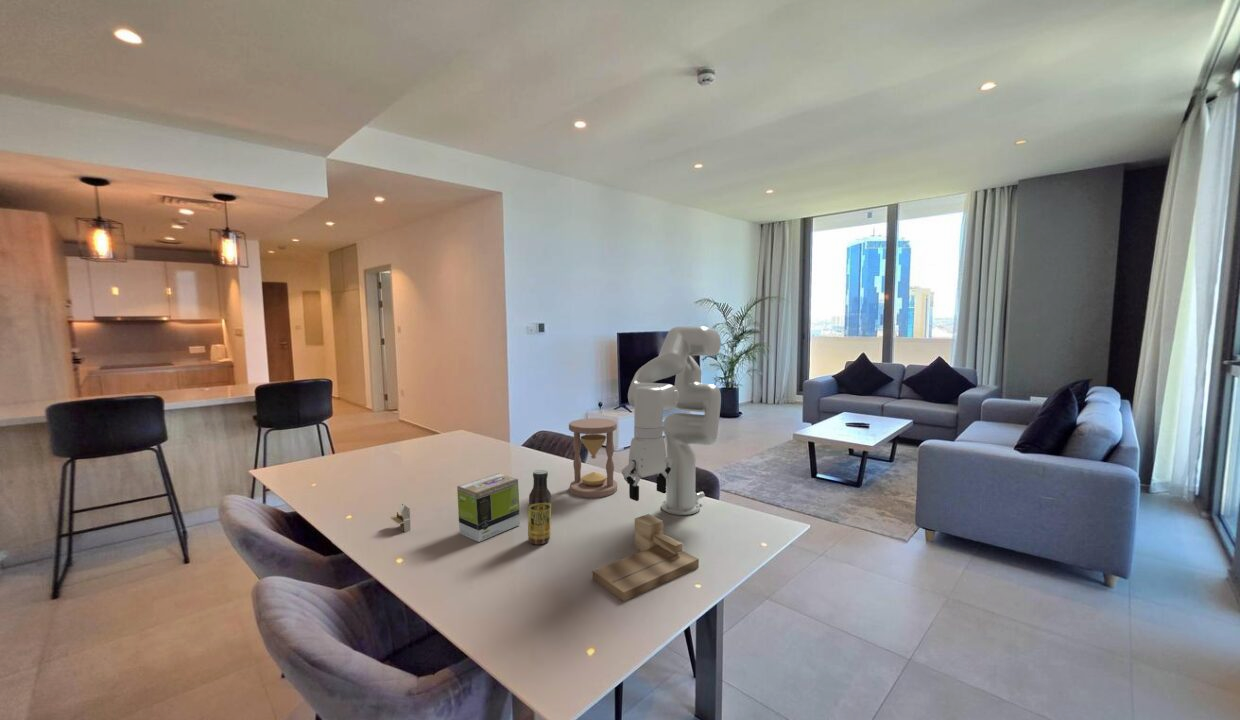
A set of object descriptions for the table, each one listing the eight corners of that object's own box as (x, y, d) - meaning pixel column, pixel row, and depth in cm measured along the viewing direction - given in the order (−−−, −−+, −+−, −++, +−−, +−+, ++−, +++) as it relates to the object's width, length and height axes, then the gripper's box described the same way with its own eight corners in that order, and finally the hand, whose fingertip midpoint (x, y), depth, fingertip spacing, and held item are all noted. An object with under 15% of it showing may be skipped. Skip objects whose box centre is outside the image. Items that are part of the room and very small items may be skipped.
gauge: (648, 541, 134) (648, 513, 133) (685, 561, 123) (685, 531, 122) (634, 546, 131) (634, 518, 130) (671, 567, 120) (671, 536, 119)
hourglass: (626, 486, 179) (625, 421, 178) (600, 501, 165) (599, 430, 163) (588, 479, 189) (587, 416, 187) (560, 492, 174) (558, 424, 172)
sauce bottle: (529, 547, 131) (527, 476, 130) (527, 537, 137) (525, 469, 136) (553, 544, 133) (551, 474, 131) (550, 534, 139) (548, 467, 137)
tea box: (500, 517, 152) (499, 472, 151) (520, 526, 145) (519, 478, 144) (458, 533, 140) (456, 484, 139) (478, 543, 134) (476, 491, 133)
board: (665, 549, 129) (665, 541, 129) (698, 566, 120) (698, 558, 120) (592, 578, 115) (592, 570, 114) (623, 601, 105) (623, 592, 105)
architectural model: (399, 535, 140) (398, 511, 139) (390, 528, 145) (389, 505, 144) (410, 532, 142) (410, 507, 142) (401, 525, 147) (400, 501, 147)
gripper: (662, 426, 136) (662, 486, 137) (614, 434, 125) (614, 498, 126) (681, 431, 130) (680, 492, 131) (632, 439, 119) (632, 506, 120)
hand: (648, 495), depth 129 cm, fingers open, 9 cm apart
